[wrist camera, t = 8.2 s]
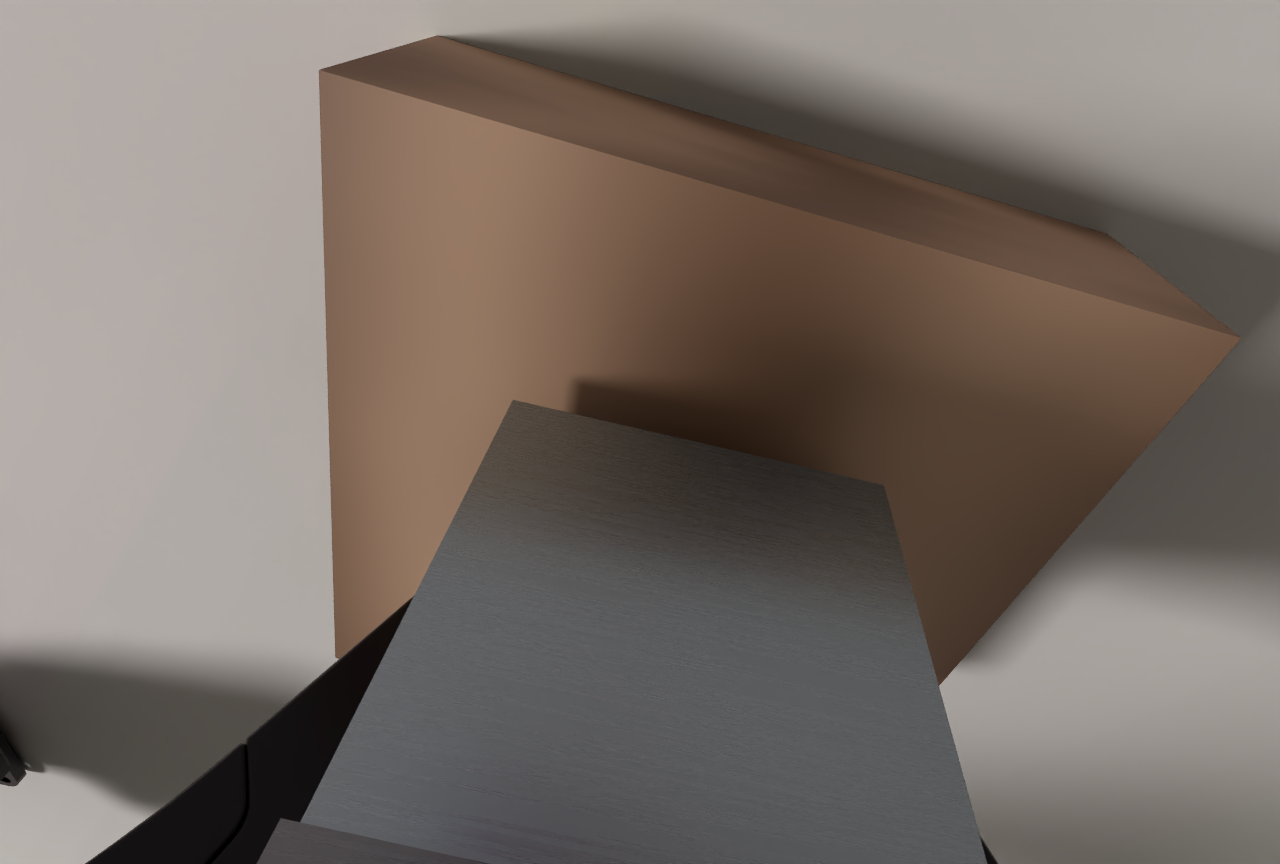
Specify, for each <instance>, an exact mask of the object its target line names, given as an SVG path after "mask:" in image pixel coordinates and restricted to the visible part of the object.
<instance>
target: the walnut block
mask: <svg viewBox="0 0 1280 864" xmlns="http://www.w3.org/2000/svg"><path fill="white" fill-rule="evenodd" d="M319 90H320V125H321V161H322V197H323V232H324V268H325V303H326V339H327V374H328V410H329V445H330V481H331V517H332V552H333V588H334V623H335V658H338V659H340V658H341V657H342V656H344V655H345V654H346V653H347V652H348V651H349V650H351V649H352V648H353V647H354V646H355V645H356V644H358V643H359V642H360V641H361V640H362V639H364V638H365V637H366V636H367V635H368V634H369V633H371V632H372V631H373V630H374V629H375V628H376V627H378V626H379V625H380V624H381V623H382V622H383V621H385V620H386V619H387V618H388V617H389V616H391V615H392V614H393V613H394V612H395V611H396V610H398V609H399V608H400V607H401V606H402V605H403V604H405V603H406V602H407V601H408V600H409V599H410V598H412V597H413V596H414V595H415V593H416V591H417V589H418V587H419V585H420V583H421V581H422V579H423V577H424V575H425V573H426V571H427V569H428V567H429V565H430V563H431V561H432V559H433V557H434V555H435V553H436V551H437V549H438V547H439V545H440V543H441V541H442V540H443V538H444V536H445V534H446V532H447V530H448V528H449V526H450V524H451V522H452V520H453V518H454V516H455V514H456V512H457V510H458V508H459V506H460V504H461V502H462V500H463V498H464V496H465V494H466V492H467V490H468V488H469V486H470V484H471V482H472V480H473V478H474V476H475V474H476V472H477V470H478V468H479V466H480V464H481V462H482V460H483V458H484V456H485V454H486V452H487V450H488V448H489V446H490V444H491V442H492V440H493V438H494V436H495V434H496V432H497V430H498V428H499V426H500V424H501V422H502V420H503V418H504V416H505V414H506V412H507V410H508V408H509V406H510V404H511V402H512V400H517V401H521V402H525V403H530V404H534V405H538V406H543V407H547V408H551V409H556V410H560V411H564V412H569V413H573V414H577V415H582V416H586V417H590V418H595V419H599V420H603V421H608V422H612V423H616V424H621V425H625V426H629V427H634V428H638V429H643V430H647V431H651V432H656V433H660V434H664V435H669V436H673V437H677V438H682V439H686V440H690V441H695V442H699V443H703V444H708V445H712V446H716V447H721V448H725V449H729V450H734V451H738V452H742V453H747V454H751V455H755V456H760V457H764V458H768V459H773V460H777V461H781V462H786V463H790V464H794V465H799V466H803V467H807V468H812V469H816V470H820V471H825V472H829V473H833V474H838V475H842V476H846V477H851V478H855V479H859V480H864V481H868V482H872V483H877V484H881V485H884V487H885V491H886V494H887V498H888V502H889V505H890V509H891V513H892V516H893V520H894V524H895V527H896V531H897V535H898V538H899V542H900V546H901V549H902V553H903V557H904V560H905V564H906V568H907V571H908V575H909V579H910V582H911V586H912V590H913V593H914V597H915V601H916V604H917V608H918V612H919V615H920V619H921V623H922V626H923V630H924V634H925V637H926V641H927V645H928V648H929V652H930V656H931V659H932V663H933V667H934V670H935V674H936V678H937V681H938V685H940V684H941V683H942V682H943V681H944V680H945V678H946V677H947V676H948V675H949V674H950V673H951V672H952V670H953V669H954V668H955V667H956V666H957V665H958V663H959V662H960V661H961V660H962V659H963V658H964V657H965V655H966V654H967V653H968V652H969V651H970V650H971V649H972V647H973V646H974V645H975V644H976V643H977V642H978V640H979V639H980V638H981V637H982V636H983V635H984V634H985V632H986V631H987V630H988V629H989V628H990V627H991V626H992V624H993V623H994V622H995V621H996V620H997V619H998V617H999V616H1000V615H1001V614H1002V613H1003V612H1004V611H1005V609H1006V608H1007V607H1008V606H1009V605H1010V604H1011V603H1012V601H1013V600H1014V599H1015V598H1016V597H1017V596H1018V594H1019V593H1020V592H1021V591H1022V590H1023V589H1024V588H1025V586H1026V585H1027V584H1028V583H1029V582H1030V581H1031V580H1032V578H1033V577H1034V576H1035V575H1036V574H1037V573H1038V571H1039V570H1040V569H1041V568H1042V567H1043V566H1044V565H1045V563H1046V562H1047V561H1048V560H1049V559H1050V558H1051V557H1052V555H1053V554H1054V553H1055V552H1056V551H1057V550H1058V549H1059V547H1060V546H1061V545H1062V544H1063V543H1064V542H1065V540H1066V539H1067V538H1068V537H1069V536H1070V535H1071V534H1072V532H1073V531H1074V530H1075V529H1076V528H1077V527H1078V526H1079V524H1080V523H1081V522H1082V521H1083V520H1084V519H1085V517H1086V516H1087V515H1088V514H1089V513H1090V512H1091V511H1092V509H1093V508H1094V507H1095V506H1096V505H1097V504H1098V503H1099V501H1100V500H1101V499H1102V498H1103V497H1104V496H1105V494H1106V493H1107V492H1108V491H1109V490H1110V489H1111V488H1112V486H1113V485H1114V484H1115V483H1116V482H1117V481H1118V480H1119V478H1120V477H1121V476H1122V475H1123V474H1124V473H1125V471H1126V470H1127V469H1128V468H1129V467H1130V466H1131V465H1132V463H1133V462H1134V461H1135V460H1136V459H1137V458H1138V457H1139V455H1140V454H1141V453H1142V452H1143V451H1144V450H1145V448H1146V447H1147V446H1148V445H1149V444H1150V443H1151V442H1152V440H1153V439H1154V438H1155V437H1156V436H1157V435H1158V434H1159V432H1160V431H1161V430H1162V429H1163V428H1164V427H1165V425H1166V424H1167V423H1168V422H1169V421H1170V420H1171V419H1172V417H1173V416H1174V415H1175V414H1176V413H1177V412H1178V411H1179V409H1180V408H1181V407H1182V406H1183V405H1184V404H1185V403H1186V401H1187V400H1188V399H1189V398H1190V397H1191V396H1192V394H1193V393H1194V392H1195V391H1196V390H1197V389H1198V388H1199V386H1200V385H1201V384H1202V383H1203V382H1204V381H1205V380H1206V378H1207V377H1208V376H1209V375H1210V374H1211V373H1212V371H1213V370H1214V369H1215V368H1216V367H1217V366H1218V365H1219V363H1220V362H1221V361H1222V360H1223V359H1224V358H1225V357H1226V355H1227V354H1228V353H1229V352H1230V351H1231V350H1232V348H1233V347H1234V346H1235V345H1236V344H1237V343H1238V342H1239V340H1240V339H1241V337H1239V336H1238V335H1237V334H1235V333H1234V332H1233V331H1232V330H1230V329H1229V328H1228V327H1226V326H1225V325H1224V324H1223V323H1221V322H1220V321H1219V320H1217V319H1216V318H1215V317H1214V316H1212V315H1211V314H1210V313H1208V312H1207V311H1206V310H1205V309H1203V308H1202V307H1201V306H1199V305H1198V304H1197V303H1196V302H1194V301H1193V300H1192V299H1190V298H1189V297H1188V296H1187V295H1185V294H1184V293H1183V292H1181V291H1180V290H1179V289H1177V288H1176V287H1175V286H1174V285H1172V284H1171V283H1170V282H1168V281H1167V280H1166V279H1165V278H1163V277H1162V276H1161V275H1159V274H1158V273H1157V272H1156V271H1154V270H1153V269H1152V268H1150V267H1149V266H1148V265H1147V264H1145V263H1144V262H1143V261H1141V260H1140V259H1139V258H1138V257H1136V256H1135V255H1134V254H1132V253H1131V252H1130V251H1129V250H1127V249H1126V248H1125V247H1123V246H1122V245H1121V244H1119V243H1118V242H1117V241H1116V240H1114V239H1113V238H1112V237H1110V236H1109V235H1108V234H1105V233H1102V232H1098V231H1095V230H1092V229H1088V228H1085V227H1082V226H1078V225H1075V224H1071V223H1068V222H1065V221H1061V220H1058V219H1055V218H1051V217H1048V216H1044V215H1041V214H1038V213H1034V212H1031V211H1028V210H1024V209H1021V208H1017V207H1014V206H1011V205H1007V204H1004V203H1001V202H997V201H994V200H990V199H987V198H984V197H980V196H977V195H974V194H970V193H967V192H963V191H960V190H957V189H953V188H950V187H946V186H943V185H940V184H936V183H933V182H930V181H926V180H923V179H919V178H916V177H913V176H909V175H906V174H903V173H899V172H896V171H892V170H889V169H886V168H882V167H879V166H876V165H872V164H869V163H865V162H862V161H859V160H855V159H852V158H849V157H845V156H842V155H838V154H835V153H832V152H828V151H825V150H822V149H818V148H815V147H811V146H808V145H805V144H801V143H798V142H794V141H791V140H788V139H784V138H781V137H778V136H774V135H771V134H767V133H764V132H761V131H757V130H754V129H751V128H747V127H744V126H740V125H737V124H734V123H730V122H727V121H724V120H720V119H717V118H713V117H710V116H707V115H703V114H700V113H697V112H693V111H690V110H686V109H683V108H680V107H676V106H673V105H670V104H666V103H663V102H659V101H656V100H653V99H649V98H646V97H643V96H639V95H636V94H632V93H629V92H626V91H622V90H619V89H615V88H612V87H609V86H605V85H602V84H599V83H595V82H592V81H588V80H585V79H582V78H578V77H575V76H572V75H568V74H565V73H561V72H558V71H555V70H551V69H548V68H545V67H541V66H538V65H534V64H531V63H528V62H524V61H521V60H518V59H514V58H511V57H507V56H504V55H501V54H497V53H494V52H491V51H487V50H484V49H480V48H477V47H474V46H470V45H467V44H464V43H460V42H457V41H453V40H450V39H447V38H443V37H440V36H434V37H430V38H427V39H423V40H420V41H417V42H413V43H410V44H406V45H403V46H399V47H396V48H393V49H389V50H386V51H382V52H379V53H375V54H372V55H369V56H365V57H362V58H358V59H355V60H351V61H348V62H345V63H341V64H338V65H334V66H331V67H327V68H324V69H321V70H319Z"/></svg>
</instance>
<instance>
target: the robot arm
mask: <svg viewBox="0 0 1280 864" xmlns="http://www.w3.org/2000/svg"><path fill="white" fill-rule="evenodd" d="M413 597H414V596H413ZM413 597H412V598H410V599H409V600H408V601H407V602H406V603H405V604H403V605H402V606H401V607H400V608H399V609H398V610H396V611H395V612H394V613H393V614H392V615H391V616H389V617H388V618H387V619H386V620H385V621H383V622H382V623H381V624H380V625H379V626H378V627H376V628H375V629H374V630H373V631H372V632H371V633H369V634H368V635H367V636H366V637H365V638H364V639H362V640H361V641H360V642H359V643H358V644H356V645H355V646H354V647H353V648H352V649H351V650H349V651H348V652H347V653H346V654H345V655H344V656H342V657H341V658H340V659H339V660H338V661H337V662H335V663H334V664H333V665H332V666H331V667H329V668H328V669H327V670H326V671H325V672H324V673H322V674H321V675H320V676H319V677H318V678H317V679H315V680H314V681H313V682H312V683H311V684H310V685H308V686H307V687H306V688H305V689H304V690H302V691H301V692H300V693H299V694H298V695H297V696H295V697H294V698H293V699H292V700H291V701H290V702H288V703H287V704H286V705H285V706H284V707H283V708H281V709H280V710H279V711H278V712H277V713H275V714H274V715H273V716H272V717H271V718H270V719H268V720H267V721H266V722H265V723H264V724H263V725H261V726H260V727H259V728H258V729H257V730H256V731H254V732H253V733H252V734H251V735H250V736H249V737H247V739H246V745H245V744H244V743H240V744H239V745H237V746H236V747H235V748H234V749H233V750H232V751H230V752H229V753H228V754H227V755H226V756H225V757H223V758H222V759H221V760H220V761H219V762H218V763H216V764H215V765H214V766H213V767H212V768H211V769H209V770H208V771H207V772H206V773H204V774H203V775H202V776H201V777H200V778H198V779H197V780H196V781H195V782H193V783H192V784H191V785H190V786H188V787H187V788H186V789H185V790H184V791H182V792H181V793H180V794H179V795H177V796H176V797H175V798H174V799H172V800H171V801H170V802H169V803H168V804H166V805H165V806H163V807H162V808H161V809H159V810H158V811H157V812H155V813H154V814H153V815H151V816H150V817H149V818H147V819H146V820H145V821H143V822H142V823H141V824H139V825H138V826H136V827H135V828H134V829H132V830H131V831H130V832H128V833H127V834H126V835H124V836H123V837H122V838H120V839H119V840H118V841H116V842H115V843H113V844H112V845H111V846H109V847H108V848H106V849H105V850H104V851H102V852H101V853H100V854H98V855H97V856H95V857H94V858H93V859H91V860H90V861H88V862H87V863H86V864H257V862H258V860H259V858H260V856H261V855H262V853H263V851H264V849H265V847H266V845H267V843H268V841H269V839H270V838H271V836H272V834H273V832H274V830H275V828H276V826H277V824H278V822H279V821H280V819H281V818H282V819H287V820H291V821H296V822H301V820H302V818H303V816H304V814H305V812H306V810H307V808H308V806H309V804H310V802H311V800H312V798H313V796H314V794H315V792H316V790H317V788H318V786H319V784H320V782H321V780H322V778H323V776H324V774H325V772H326V770H327V768H328V766H329V764H330V762H331V760H332V758H333V756H334V754H335V752H336V750H337V748H338V746H339V744H340V742H341V740H342V738H343V736H344V734H345V732H346V730H347V728H348V726H349V724H350V722H351V720H352V718H353V716H354V714H355V712H356V710H357V708H358V706H359V704H360V702H361V700H362V698H363V696H364V695H365V693H366V691H367V689H368V687H369V685H370V683H371V681H372V679H373V677H374V675H375V673H376V671H377V669H378V667H379V665H380V663H381V661H382V659H383V657H384V655H385V653H386V651H387V649H388V647H389V645H390V643H391V641H392V639H393V637H394V635H395V633H396V631H397V629H398V627H399V625H400V623H401V621H402V619H403V617H404V615H405V613H406V611H407V609H408V607H409V605H410V603H411V601H412V599H413ZM25 775H26V772H25V770H24V768H23V767H22V765H21V764H20V762H19V761H18V759H17V757H16V756H15V754H14V753H13V751H12V750H11V748H10V747H9V745H8V743H7V742H6V740H5V739H4V737H3V736H2V734H1V733H0V784H3V785H7V786H17V785H18V783H19V782H20V781H21V780H22V779H23V778H24V776H25ZM980 839H981V843H982V846H983V850H984V854H985V857H986V861H987V864H998V863H997V861H996V860H995V858H994V856H993V855H992V853H991V852H990V850H989V849H988V847H987V846H986V844H985V842H984V841H983V839H982V838H981V836H980Z"/></svg>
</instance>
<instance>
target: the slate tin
mask: <svg viewBox="0 0 1280 864" xmlns="http://www.w3.org/2000/svg"><path fill="white" fill-rule="evenodd" d="M257 864H987V861H986V857H985V854H984V850H983V846H982V843H981V839H980V835H979V832H978V828H977V824H976V821H975V817H974V813H973V810H972V806H971V802H970V799H969V795H968V791H967V788H966V784H965V780H964V777H963V773H962V769H961V766H960V762H959V758H958V755H957V751H956V747H955V744H954V740H953V736H952V733H951V729H950V725H949V722H948V718H947V714H946V711H945V707H944V703H943V700H942V696H941V692H940V689H939V685H938V681H937V678H936V674H935V670H934V667H933V663H932V659H931V656H930V652H929V648H928V645H927V641H926V637H925V634H924V630H923V626H922V623H921V619H920V615H919V612H918V608H917V604H916V601H915V597H914V593H913V590H912V586H911V582H910V579H909V575H908V571H907V568H906V564H905V560H904V557H903V553H902V549H901V546H900V542H899V538H898V535H897V531H896V527H895V524H894V520H893V516H892V513H891V509H890V505H889V502H888V498H887V494H886V491H885V487H884V485H881V484H877V483H872V482H868V481H864V480H859V479H855V478H851V477H846V476H842V475H838V474H833V473H829V472H825V471H820V470H816V469H812V468H807V467H803V466H799V465H794V464H790V463H786V462H781V461H777V460H773V459H768V458H764V457H760V456H755V455H751V454H747V453H742V452H738V451H734V450H729V449H725V448H721V447H716V446H712V445H708V444H703V443H699V442H695V441H690V440H686V439H682V438H677V437H673V436H669V435H664V434H660V433H656V432H651V431H647V430H643V429H638V428H634V427H629V426H625V425H621V424H616V423H612V422H608V421H603V420H599V419H595V418H590V417H586V416H582V415H577V414H573V413H569V412H564V411H560V410H556V409H551V408H547V407H543V406H538V405H534V404H530V403H525V402H521V401H517V400H512V402H511V404H510V406H509V408H508V410H507V412H506V414H505V416H504V418H503V420H502V422H501V424H500V426H499V428H498V430H497V432H496V434H495V436H494V438H493V440H492V442H491V444H490V446H489V448H488V450H487V452H486V454H485V456H484V458H483V460H482V462H481V464H480V466H479V468H478V470H477V472H476V474H475V476H474V478H473V480H472V482H471V484H470V486H469V488H468V490H467V492H466V494H465V496H464V498H463V500H462V502H461V504H460V506H459V508H458V510H457V512H456V514H455V516H454V518H453V520H452V522H451V524H450V526H449V528H448V530H447V532H446V534H445V536H444V538H443V540H442V541H441V543H440V545H439V547H438V549H437V551H436V553H435V555H434V557H433V559H432V561H431V563H430V565H429V567H428V569H427V571H426V573H425V575H424V577H423V579H422V581H421V583H420V585H419V587H418V589H417V591H416V593H415V595H414V597H413V599H412V601H411V603H410V605H409V607H408V609H407V611H406V613H405V615H404V617H403V619H402V621H401V623H400V625H399V627H398V629H397V631H396V633H395V635H394V637H393V639H392V641H391V643H390V645H389V647H388V649H387V651H386V653H385V655H384V657H383V659H382V661H381V663H380V665H379V667H378V669H377V671H376V673H375V675H374V677H373V679H372V681H371V683H370V685H369V687H368V689H367V691H366V693H365V695H364V696H363V698H362V700H361V702H360V704H359V706H358V708H357V710H356V712H355V714H354V716H353V718H352V720H351V722H350V724H349V726H348V728H347V730H346V732H345V734H344V736H343V738H342V740H341V742H340V744H339V746H338V748H337V750H336V752H335V754H334V756H333V758H332V760H331V762H330V764H329V766H328V768H327V770H326V772H325V774H324V776H323V778H322V780H321V782H320V784H319V786H318V788H317V790H316V792H315V794H314V796H313V798H312V800H311V802H310V804H309V806H308V808H307V810H306V812H305V814H304V816H303V818H302V820H301V822H296V821H291V820H287V819H282V818H281V819H280V821H279V822H278V824H277V826H276V828H275V830H274V832H273V834H272V836H271V838H270V839H269V841H268V843H267V845H266V847H265V849H264V851H263V853H262V855H261V856H260V858H259V860H258V862H257Z"/></svg>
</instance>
